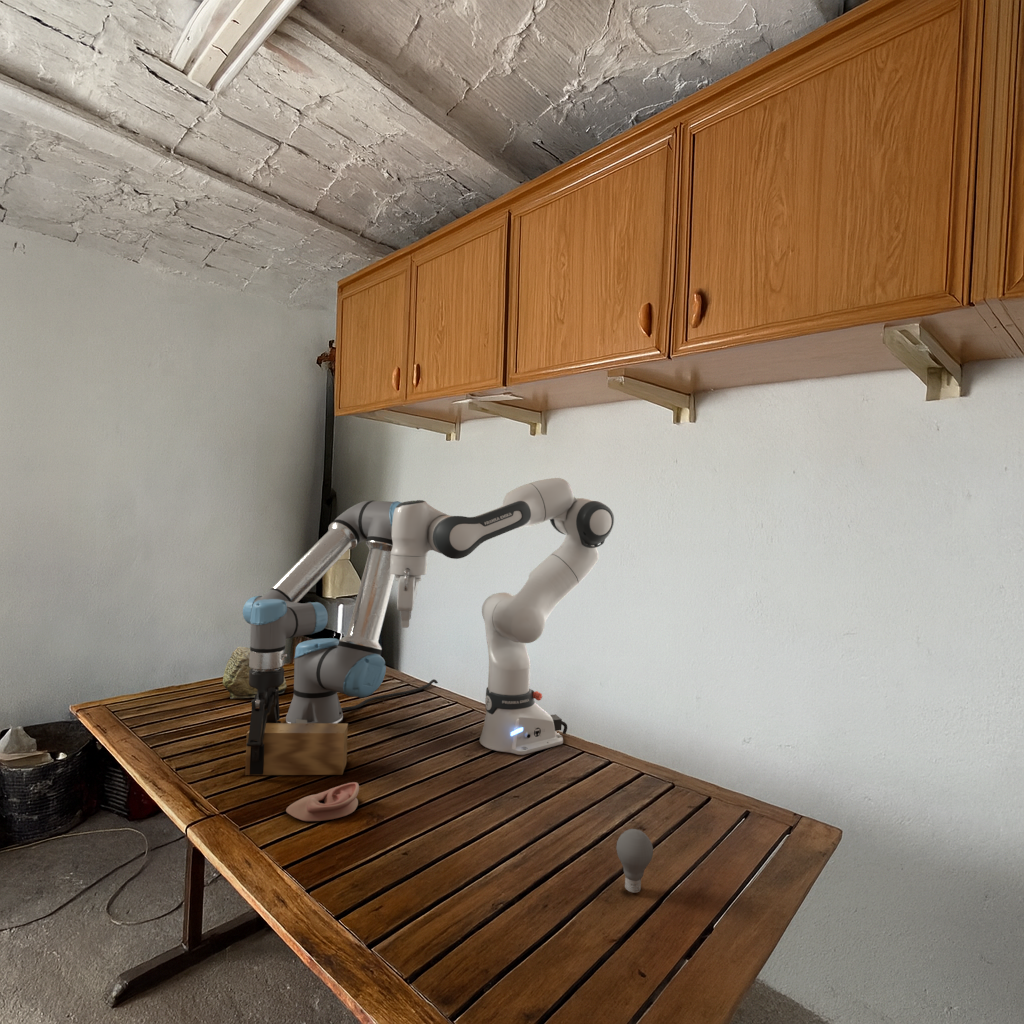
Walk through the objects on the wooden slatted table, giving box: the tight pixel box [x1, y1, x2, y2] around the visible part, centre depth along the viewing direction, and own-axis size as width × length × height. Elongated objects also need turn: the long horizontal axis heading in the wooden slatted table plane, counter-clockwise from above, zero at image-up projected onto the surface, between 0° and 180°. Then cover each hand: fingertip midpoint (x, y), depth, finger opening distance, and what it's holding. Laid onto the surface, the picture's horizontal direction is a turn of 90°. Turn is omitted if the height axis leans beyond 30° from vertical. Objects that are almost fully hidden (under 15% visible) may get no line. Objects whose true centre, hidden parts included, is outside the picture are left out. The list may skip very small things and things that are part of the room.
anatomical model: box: [285, 781, 360, 822], centre depth 129 cm, size 13×4×12 cm
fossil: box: [222, 646, 288, 699], centre depth 198 cm, size 9×18×15 cm, turn 132°
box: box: [244, 722, 349, 776], centre depth 146 cm, size 21×6×10 cm, turn 96°
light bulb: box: [615, 828, 654, 894], centre depth 106 cm, size 6×6×10 cm
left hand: (263, 763), depth 146 cm, fingers open, 10 cm apart
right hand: (406, 623), depth 155 cm, fingers open, 8 cm apart
